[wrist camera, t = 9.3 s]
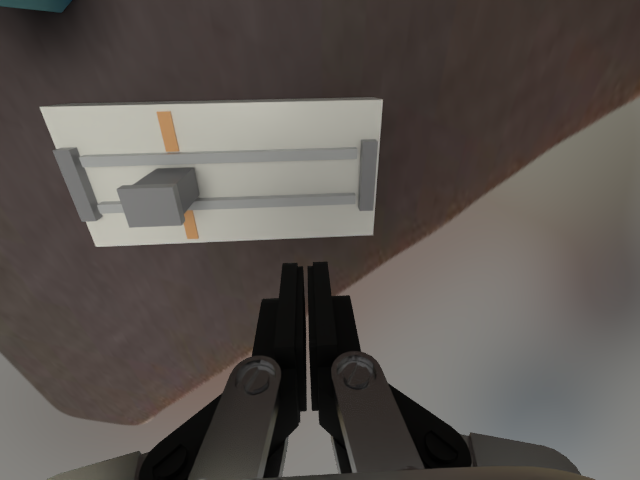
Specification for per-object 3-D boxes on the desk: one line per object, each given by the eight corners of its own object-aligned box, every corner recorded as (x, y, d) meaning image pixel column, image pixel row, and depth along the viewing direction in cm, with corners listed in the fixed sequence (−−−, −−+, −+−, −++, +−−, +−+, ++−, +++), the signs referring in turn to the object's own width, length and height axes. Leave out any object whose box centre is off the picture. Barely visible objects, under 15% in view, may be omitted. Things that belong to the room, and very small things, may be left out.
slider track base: (374, 97, 27) (386, 100, 24) (366, 222, 33) (375, 239, 29) (65, 103, 26) (29, 108, 22) (112, 232, 32) (89, 252, 28)
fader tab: (197, 164, 26) (172, 187, 21) (203, 196, 27) (181, 225, 22) (152, 166, 26) (116, 189, 20) (161, 198, 27) (129, 227, 22)
